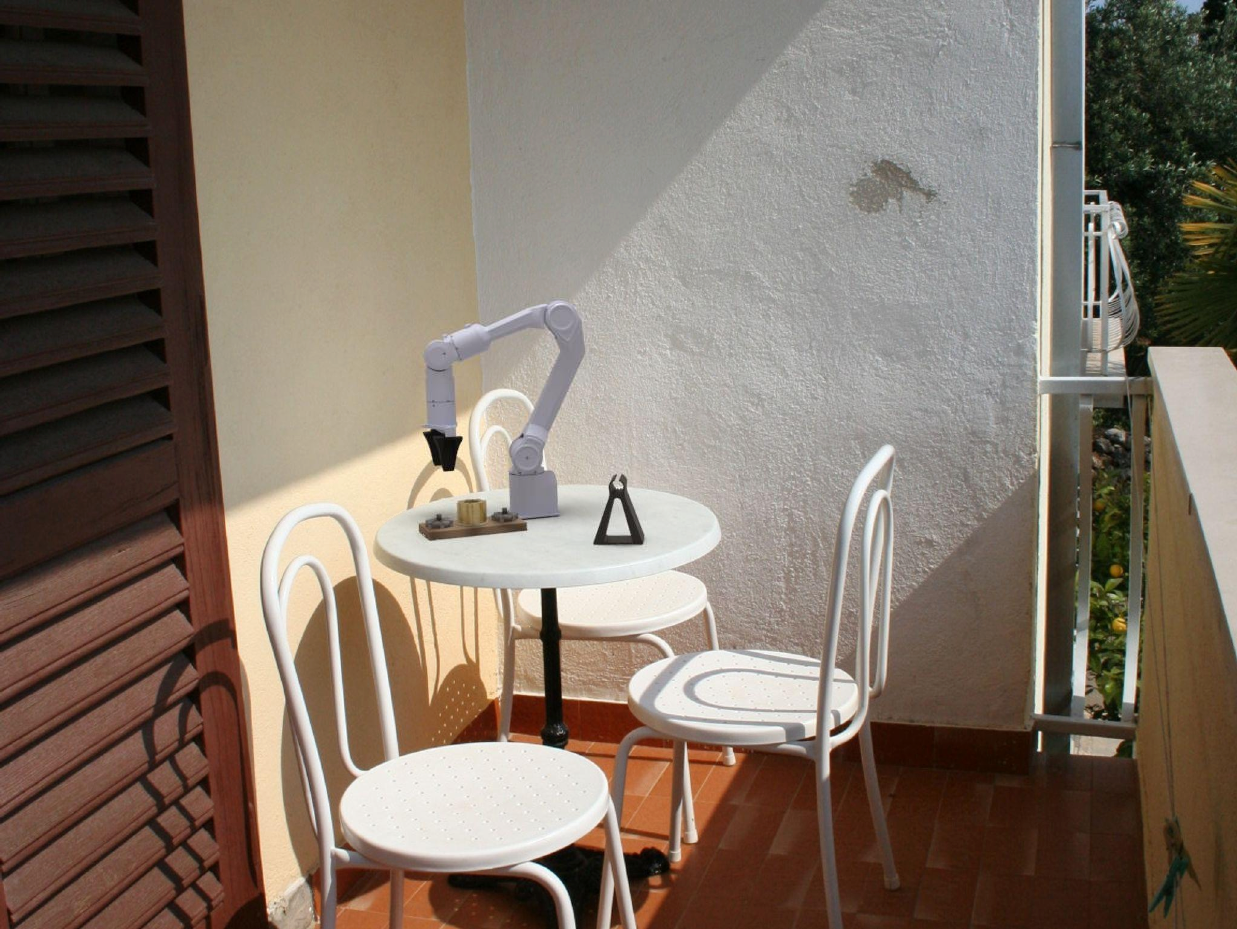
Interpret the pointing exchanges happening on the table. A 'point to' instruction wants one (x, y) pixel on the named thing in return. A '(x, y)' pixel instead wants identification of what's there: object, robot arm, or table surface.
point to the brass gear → (471, 511)
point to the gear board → (472, 526)
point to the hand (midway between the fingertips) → (443, 468)
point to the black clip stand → (630, 515)
